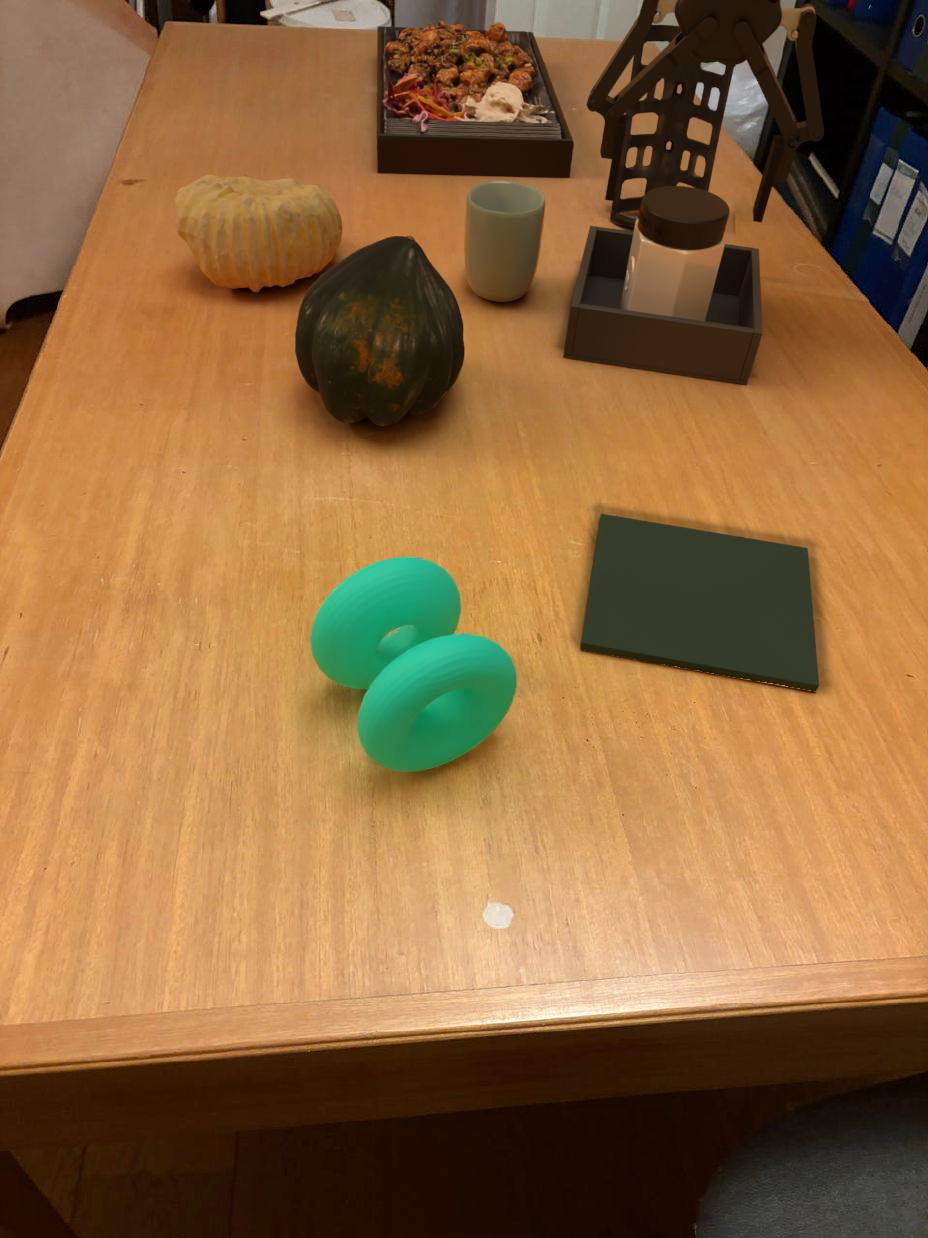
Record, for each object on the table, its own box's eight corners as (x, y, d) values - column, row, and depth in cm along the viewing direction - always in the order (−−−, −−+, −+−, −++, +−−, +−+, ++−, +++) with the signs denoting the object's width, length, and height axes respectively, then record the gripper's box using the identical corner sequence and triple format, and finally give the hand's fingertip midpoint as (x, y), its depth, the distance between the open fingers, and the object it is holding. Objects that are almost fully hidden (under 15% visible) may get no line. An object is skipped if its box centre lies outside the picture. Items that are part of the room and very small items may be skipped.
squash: (241, 375, 75) (358, 252, 67) (291, 293, 86) (398, 178, 77) (371, 486, 81) (494, 386, 73) (403, 397, 92) (513, 301, 83)
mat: (804, 555, 72) (807, 547, 71) (815, 693, 62) (819, 685, 62) (599, 520, 74) (600, 513, 73) (579, 650, 64) (581, 642, 63)
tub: (745, 296, 100) (759, 248, 96) (746, 385, 88) (763, 333, 84) (582, 274, 102) (590, 225, 98) (563, 357, 90) (570, 305, 86)
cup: (453, 304, 96) (458, 206, 88) (471, 270, 101) (476, 175, 94) (527, 316, 95) (538, 218, 87) (541, 281, 100) (552, 186, 93)
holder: (609, 231, 109) (642, 31, 95) (604, 210, 114) (635, 19, 101) (703, 238, 109) (749, 40, 96) (693, 217, 114) (735, 28, 101)
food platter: (569, 177, 119) (580, 89, 112) (377, 172, 118) (375, 82, 110) (530, 63, 150) (537, -12, 142) (377, 58, 148) (376, -19, 141)
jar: (615, 298, 97) (636, 180, 89) (692, 301, 98) (720, 185, 89) (624, 343, 91) (648, 221, 83) (706, 347, 92) (738, 226, 83)
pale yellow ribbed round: (357, 309, 99) (324, 218, 106) (359, 220, 90) (324, 127, 97) (195, 328, 95) (172, 232, 101) (181, 237, 85) (157, 138, 92)
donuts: (444, 636, 64) (450, 527, 57) (517, 742, 58) (534, 636, 51) (309, 685, 61) (296, 576, 53) (372, 804, 55) (368, 699, 48)
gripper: (580, -86, 69) (544, 202, 85) (923, -46, 67) (822, 242, 82) (590, -105, 74) (555, 170, 90) (909, -68, 72) (817, 207, 87)
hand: (683, 205), depth 86 cm, fingers open, 13 cm apart
